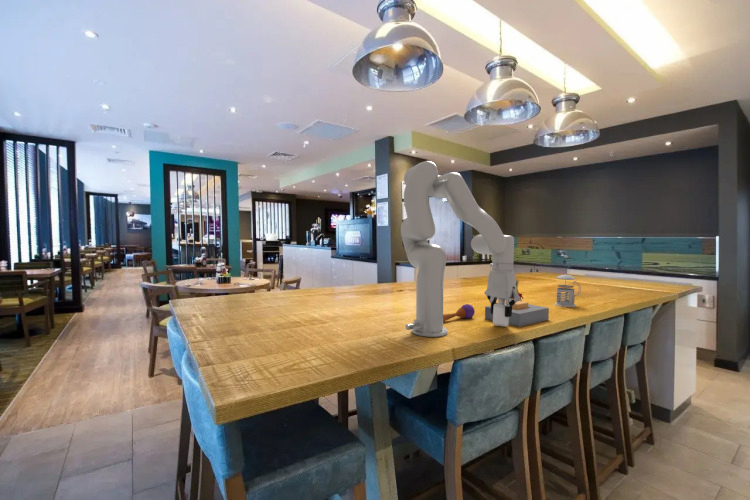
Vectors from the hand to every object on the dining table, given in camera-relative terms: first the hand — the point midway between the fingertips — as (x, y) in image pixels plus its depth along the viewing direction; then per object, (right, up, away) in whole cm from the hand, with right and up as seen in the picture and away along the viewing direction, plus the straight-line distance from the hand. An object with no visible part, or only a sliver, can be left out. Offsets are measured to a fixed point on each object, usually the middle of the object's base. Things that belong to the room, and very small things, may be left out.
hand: (500, 314), depth 130 cm
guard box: (+11, -4, +12) cm, 17 cm away
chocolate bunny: (+19, -4, +33) cm, 38 cm away
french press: (+49, -3, +42) cm, 64 cm away
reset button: (+11, 0, +12) cm, 16 cm away
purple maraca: (-15, -5, +11) cm, 19 cm away
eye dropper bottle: (0, -4, 0) cm, 4 cm away
